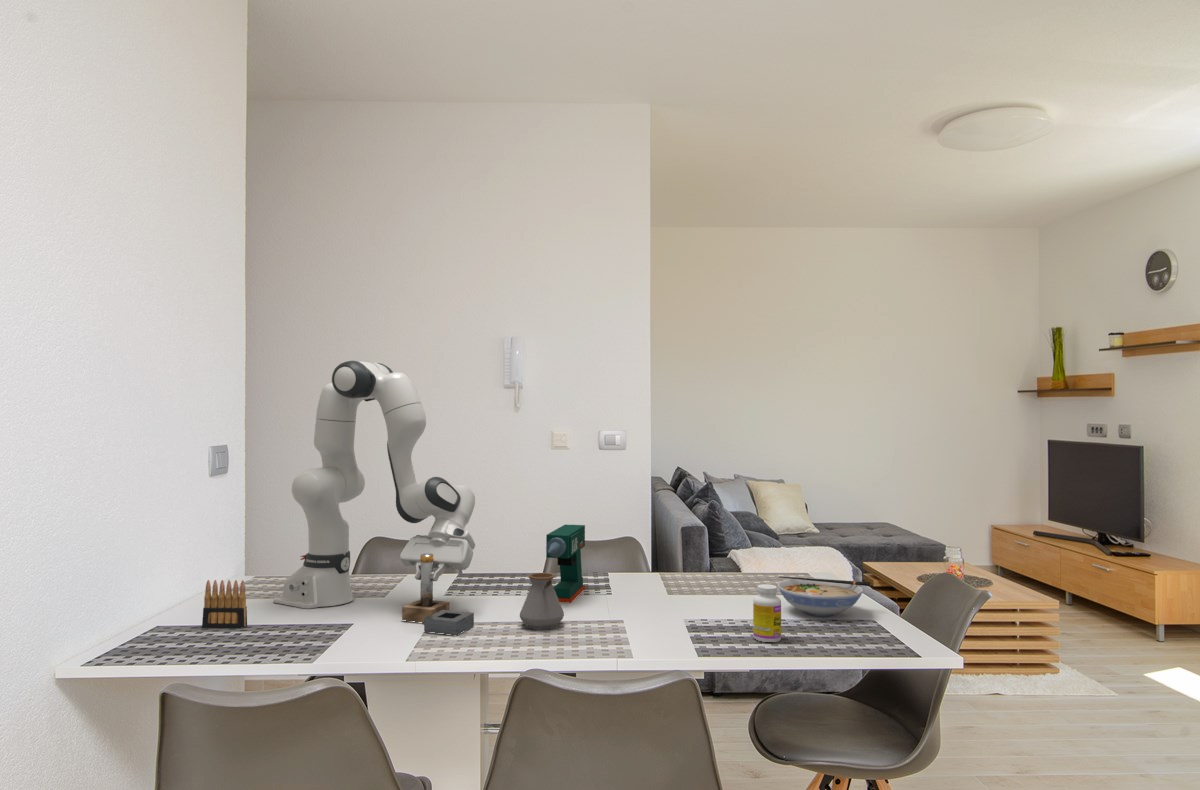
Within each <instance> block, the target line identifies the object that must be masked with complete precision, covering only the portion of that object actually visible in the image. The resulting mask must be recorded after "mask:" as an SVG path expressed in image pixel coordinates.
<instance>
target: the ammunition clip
mask: <svg viewBox="0 0 1200 790" xmlns="http://www.w3.org/2000/svg"><path fill="white" fill-rule="evenodd" d="M220 581H221V582H220V583H219V588H218V582H217V580H216V579H214V581H213V584H212V589H211V581H210V579H208V580H207V581H206V583H205V591H204V592H205V593H204V600H203V602H204V603H203V604H204V605H203V609H202V622H201V629H242V628H241V627H245V626H246V627H248V609H247V608H248V607H247V596H246V583H245V580H243V579H242V580H241V581H240V587H239V583H238V580H237V579H235V580H234V583H233V587H232V582H231V580H230V579H228V581H227V584H226V587H225V581H224V580H223V579H221V580H220ZM218 589H219V590H218ZM225 590H226V591H225ZM232 590H233V591H232ZM246 627H245V628H246Z"/></svg>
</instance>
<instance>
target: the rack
mask: <svg viewBox="0 0 1200 790" xmlns="http://www.w3.org/2000/svg"><path fill="white" fill-rule="evenodd" d="M401 609H402V610H401V621H402V620H406V621H415V622H422V623H424V618H426V617H429V616H431V615H433V614H435V613H437V612H439V611H441V610H451V601H445V600H434V599H433V606H432V607H420V599H418V600H415V601H412V602H411V603H408V604H405V605H403V606H402V608H401Z"/></svg>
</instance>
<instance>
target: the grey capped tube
mask: <svg viewBox="0 0 1200 790" xmlns="http://www.w3.org/2000/svg"><path fill="white" fill-rule="evenodd" d="M433 556H434V555H433V554H431V553H425V554H421V555H420V562H421V580H420V593H419V594H420V599H419V600H420V607H432V606H433V600H434V595H433V593H434V581H431V579H430V576H431V573H432V572H434V568H433Z"/></svg>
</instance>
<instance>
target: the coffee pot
mask: <svg viewBox="0 0 1200 790" xmlns="http://www.w3.org/2000/svg"><path fill="white" fill-rule="evenodd" d="M554 578H555V574H552V573H549V572H548V573H546V572H537V573H531V574H530V575H528V579H529V580H530V582H531V585H530V588H529V591H528V593H527V595H526V598H525V600H524V603H523V605H522V606H521V610H520V613H519V619H520V620H521V621H522V623H524V625H526V627H527V626H528V627H527V628H529V627H530V628H529V629H531V628H534V629H533V630H549V628H551V629H554V628H556V627H557V625H558V624H560V623H561V622H562V621H563V619H564V616H565V611H564V610H563V606H562V605H561V602H559V600H558V597H557V595H556V592H555V590H554V585H556V584H555V583H556V582H554V581H553V580H554Z"/></svg>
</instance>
